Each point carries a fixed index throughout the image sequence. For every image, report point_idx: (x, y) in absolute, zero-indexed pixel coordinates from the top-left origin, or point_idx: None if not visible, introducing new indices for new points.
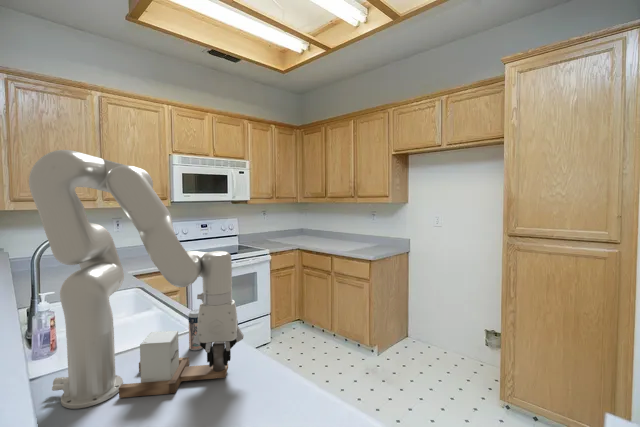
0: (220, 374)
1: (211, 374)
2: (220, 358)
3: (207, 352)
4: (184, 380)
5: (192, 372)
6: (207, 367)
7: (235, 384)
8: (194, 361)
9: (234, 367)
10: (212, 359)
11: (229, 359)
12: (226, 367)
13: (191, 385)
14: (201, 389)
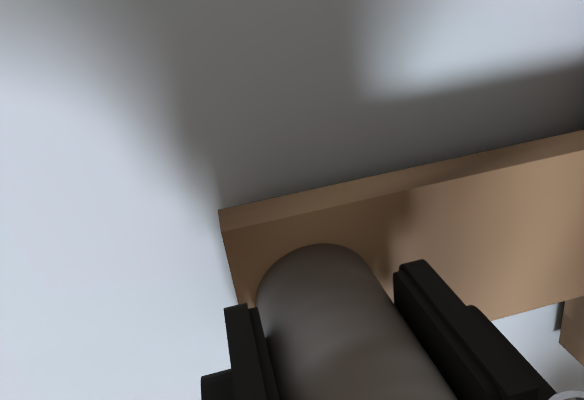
0: (272, 214)
1: (365, 198)
2: (323, 358)
3: (564, 393)
4: (579, 132)
5: (550, 210)
6: None
7: (87, 149)
8: None
9: None
10: (427, 336)
11: (204, 384)
12: None
13: (497, 111)
14: (399, 52)
